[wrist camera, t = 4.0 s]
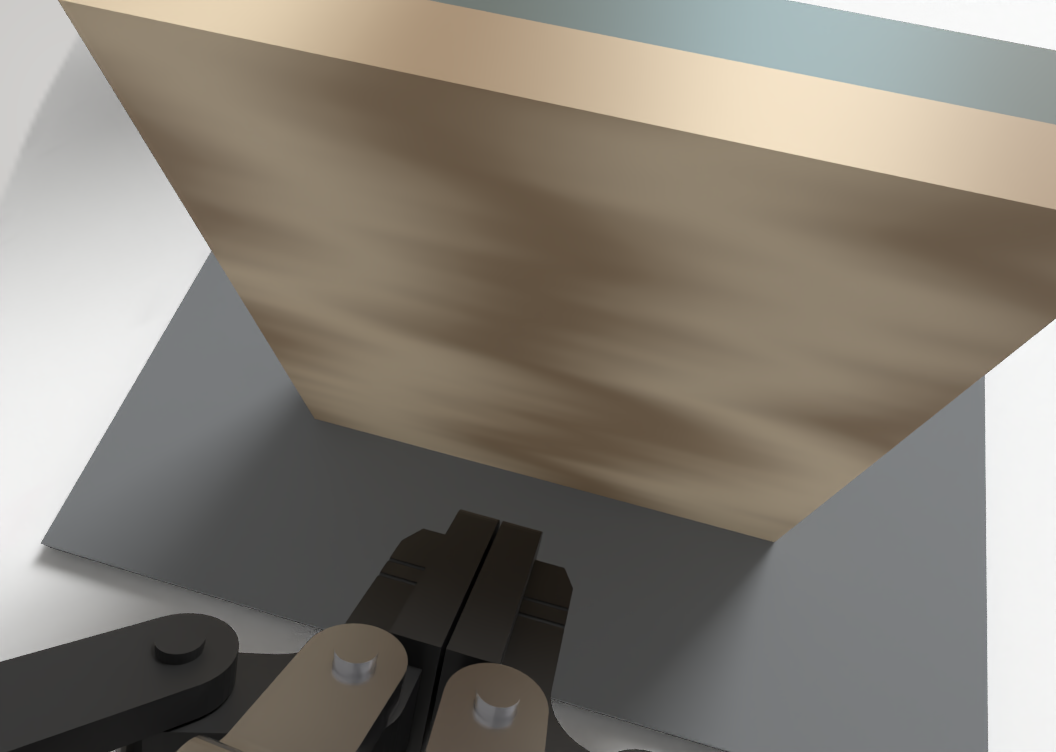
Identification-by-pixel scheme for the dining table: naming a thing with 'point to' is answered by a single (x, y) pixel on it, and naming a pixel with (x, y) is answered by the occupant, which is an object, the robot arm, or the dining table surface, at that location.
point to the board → (610, 224)
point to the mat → (565, 553)
